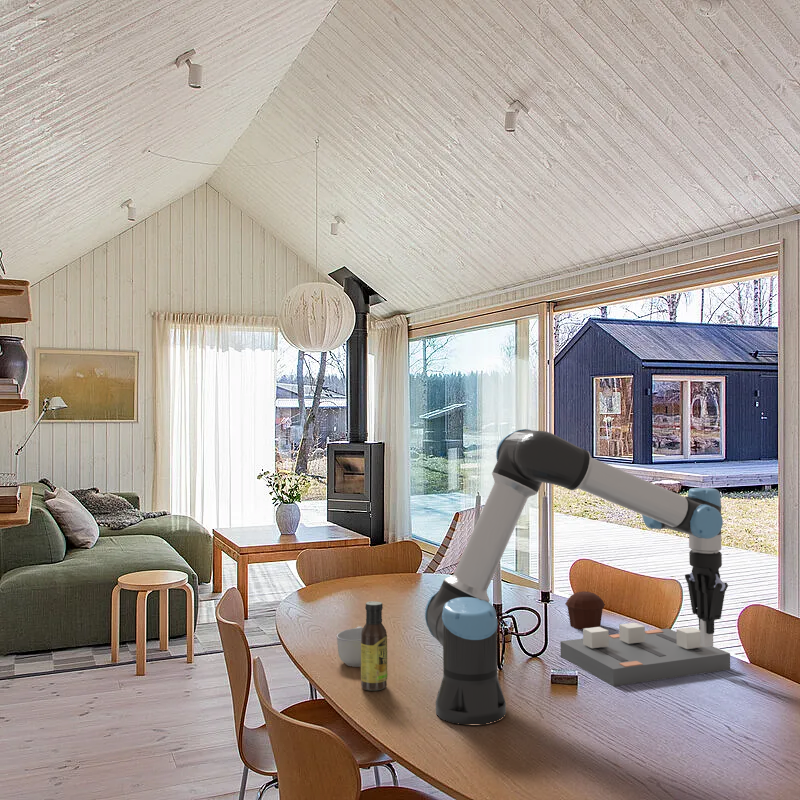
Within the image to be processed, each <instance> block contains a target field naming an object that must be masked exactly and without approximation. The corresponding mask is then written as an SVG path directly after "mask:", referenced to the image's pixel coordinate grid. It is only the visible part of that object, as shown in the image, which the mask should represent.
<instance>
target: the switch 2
mask: <svg viewBox="0 0 800 800" xmlns="http://www.w3.org/2000/svg"><path fill="white" fill-rule="evenodd" d="M675 631H676V632H677V645H679V646H681V647H683V648H686V649H692V648H700V647H703V646H701V645H700V630H699V628H696V627H692V626H691V627H690V626H689V627H684V628H676V630H675Z"/></svg>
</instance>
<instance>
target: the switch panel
mask: <svg viewBox="0 0 800 800" xmlns="http://www.w3.org/2000/svg"><path fill="white" fill-rule="evenodd" d="M559 643H560V645H559V646H560V657H561V658H562V659H564V660H566V661H568V662H570V663H571V664H574V665H575V666H577V667H578V668H580V669H582V670H584V671H586V672H588V673H589V674H590V675H592V676H594V675H595V676H594V677H596V678H597V679H600V680H601V681H603V682H605V683H607V684H608V685H610V686H612V687H617V686H626V685H630V684H631V685H632V684H638V683H644V682H653V681H658V680H666V679H674V678H680V677H686V676H694V675H701V674H709V673H716V672H720V671H721V672H722V671H728V670H731V653H730V652H728V651H726V650H722V649H720V648H718V647H716V646H714V645H713V646H709V647H700V648H692V649H686V648H683V647H681V646H679V645H677V631H676V630H673V629H670V628H660V629H651V630H650V629H649V630H648V629H647V630H645V642H640V643H632V644H628V643H626V642H624V641H621V640H620V633H615V634H609V646H608V647H600V648H590V647H588V646H586V645H584V644H583V638H575V639H568V640H560V642H559Z"/></svg>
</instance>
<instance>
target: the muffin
mask: <svg viewBox="0 0 800 800" xmlns="http://www.w3.org/2000/svg"><path fill="white" fill-rule="evenodd" d="M565 606H566V607H567V612H568V617H569V618H568V620H569V623H570V627H571V628H574V629H576V630H582V631H583V629H584V628H593V627H601V623H602V617H603V610H604V608H605V606H606V604H605V603H604V601H603V599H602V598H601V597H600V596H599V595H597V594H596V593H594V592H591V591H579V592H575V593H573V594H572V595H570V597H568V599H567V600H566V602H565Z"/></svg>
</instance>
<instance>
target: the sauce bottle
mask: <svg viewBox="0 0 800 800" xmlns="http://www.w3.org/2000/svg"><path fill="white" fill-rule="evenodd" d="M383 608H384V607H383V602H381V601H374V600H373V601H372V600H370V601H367V602H365V613H366V614H365V616H366V617H365V624H364V625H363V627H362V628H363V629H362V632H361V667H360V683H361V685H360V686H361V688H362V689H363V690H365V691H373V692H375V691H381V690H384V689H386V688H387V685H388V684H387V680H388V634H387V629H386V628H385V625H383V616H382V615H383Z"/></svg>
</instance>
